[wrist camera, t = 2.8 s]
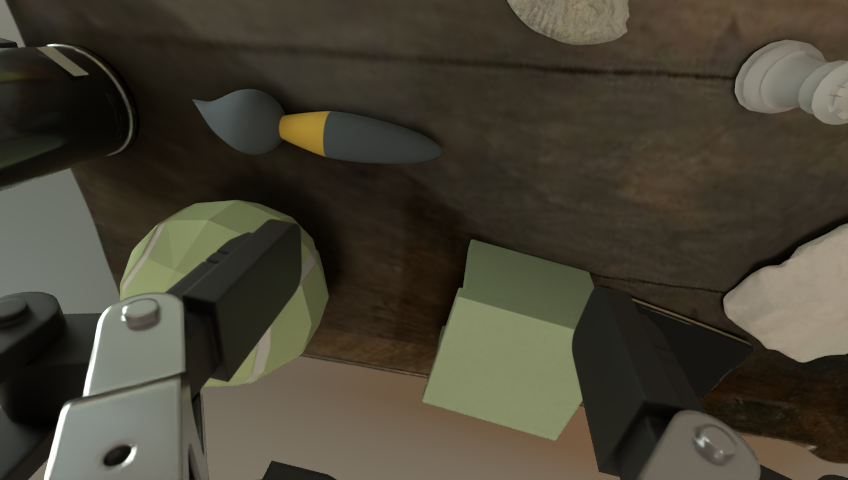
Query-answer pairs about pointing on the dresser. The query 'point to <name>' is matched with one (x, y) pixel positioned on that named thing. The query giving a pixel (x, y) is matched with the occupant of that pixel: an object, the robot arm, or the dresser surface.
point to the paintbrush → (312, 131)
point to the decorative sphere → (202, 236)
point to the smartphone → (698, 347)
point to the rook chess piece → (794, 82)
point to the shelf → (511, 342)
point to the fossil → (574, 19)
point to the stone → (798, 300)
